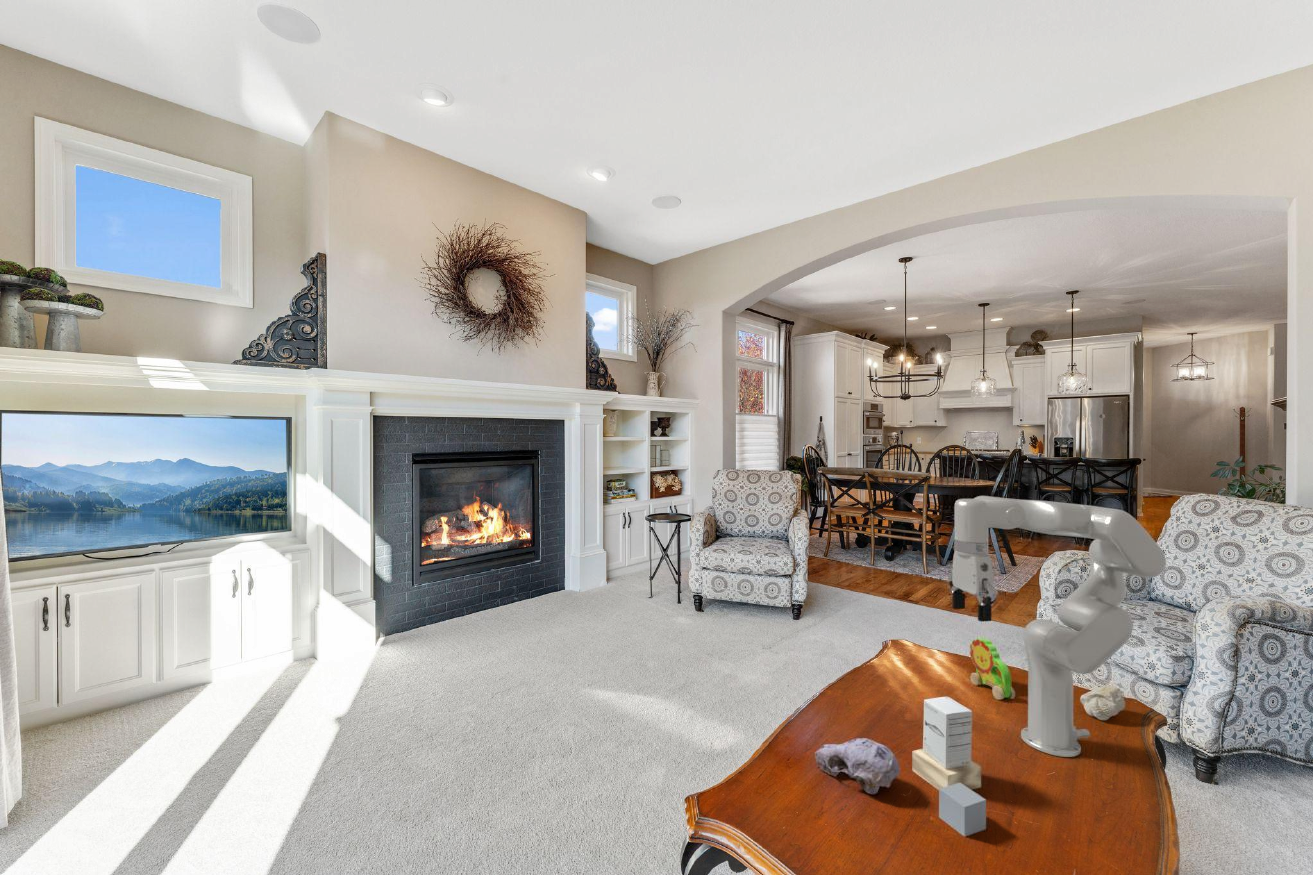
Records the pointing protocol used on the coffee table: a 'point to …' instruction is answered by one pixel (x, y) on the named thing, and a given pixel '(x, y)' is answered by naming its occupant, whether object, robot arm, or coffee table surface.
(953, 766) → the supplement box
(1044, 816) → the coffee table surface
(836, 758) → the skull
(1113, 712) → the fossil replica
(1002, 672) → the toy lion
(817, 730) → the coffee table surface
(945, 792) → the slate block
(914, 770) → the maple block
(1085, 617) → the robot arm
